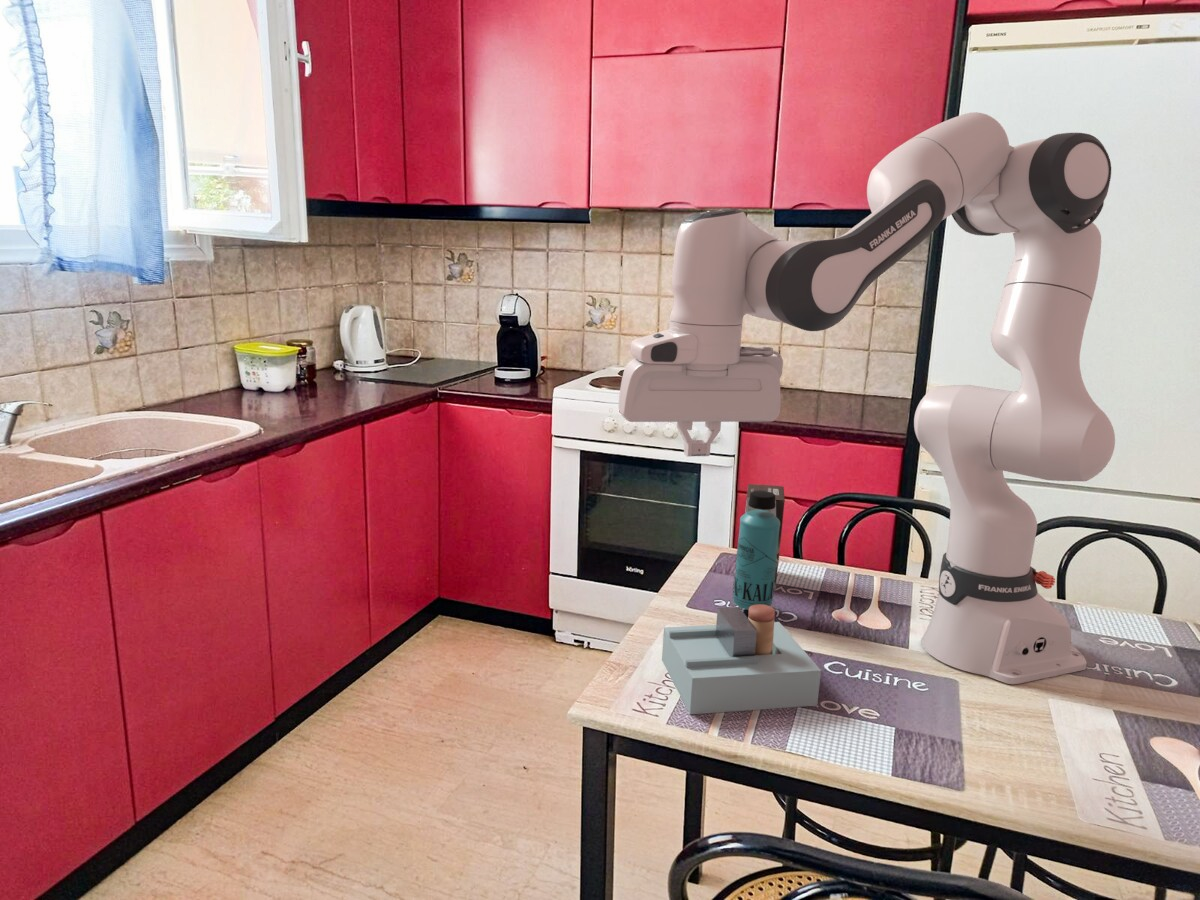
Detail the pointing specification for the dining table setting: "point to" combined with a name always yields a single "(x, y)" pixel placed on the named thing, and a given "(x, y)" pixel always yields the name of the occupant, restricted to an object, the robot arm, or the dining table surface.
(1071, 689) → the dining table surface
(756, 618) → the pin
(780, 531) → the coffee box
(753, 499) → the beverage bottle
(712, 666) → the block
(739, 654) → the bar
